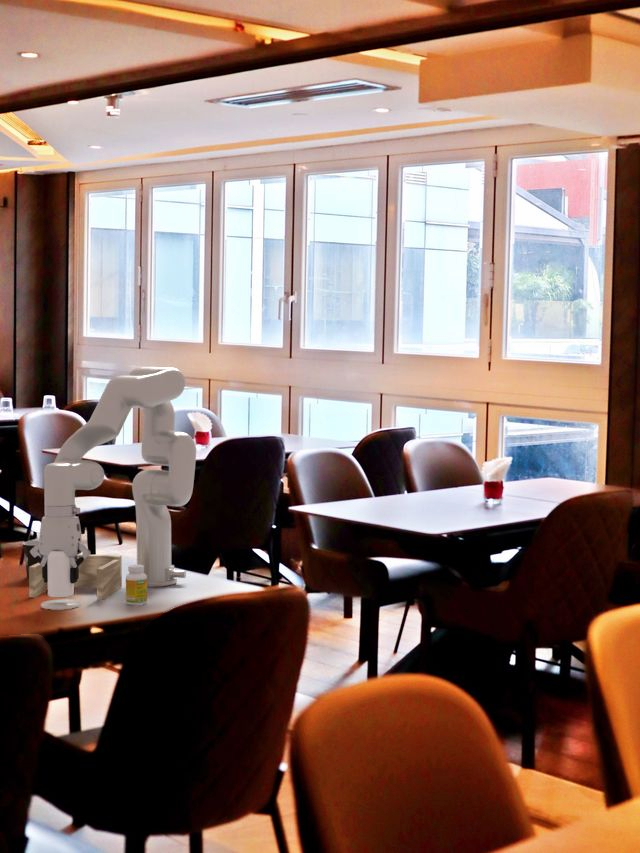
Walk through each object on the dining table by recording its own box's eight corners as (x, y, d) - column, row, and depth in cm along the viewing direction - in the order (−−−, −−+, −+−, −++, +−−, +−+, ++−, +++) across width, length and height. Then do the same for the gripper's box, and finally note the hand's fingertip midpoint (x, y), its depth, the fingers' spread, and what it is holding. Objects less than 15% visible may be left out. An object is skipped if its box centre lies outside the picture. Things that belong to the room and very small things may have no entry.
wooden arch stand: (121, 587, 331) (121, 555, 331) (102, 599, 315) (102, 566, 315) (51, 585, 334) (51, 553, 334) (29, 597, 318) (28, 563, 318)
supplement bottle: (137, 606, 307) (137, 568, 307) (121, 603, 310) (121, 566, 310) (151, 602, 312) (151, 565, 311) (135, 600, 315) (135, 563, 314)
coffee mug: (51, 580, 341) (51, 545, 340) (20, 580, 340) (20, 545, 340) (57, 572, 353) (57, 538, 352) (27, 573, 352) (27, 538, 351)
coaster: (86, 602, 312) (86, 599, 312) (73, 610, 302) (72, 608, 302) (49, 600, 314) (49, 598, 314) (34, 609, 304) (34, 606, 304)
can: (70, 598, 304) (70, 551, 304) (45, 598, 305) (44, 550, 304) (76, 593, 311) (75, 546, 310) (51, 593, 311) (50, 546, 310)
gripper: (97, 510, 309) (98, 580, 310) (32, 509, 311) (33, 578, 313) (87, 514, 301) (88, 586, 303) (21, 512, 304) (22, 583, 305)
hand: (60, 581), depth 307 cm, fingers closed on can, 6 cm apart
